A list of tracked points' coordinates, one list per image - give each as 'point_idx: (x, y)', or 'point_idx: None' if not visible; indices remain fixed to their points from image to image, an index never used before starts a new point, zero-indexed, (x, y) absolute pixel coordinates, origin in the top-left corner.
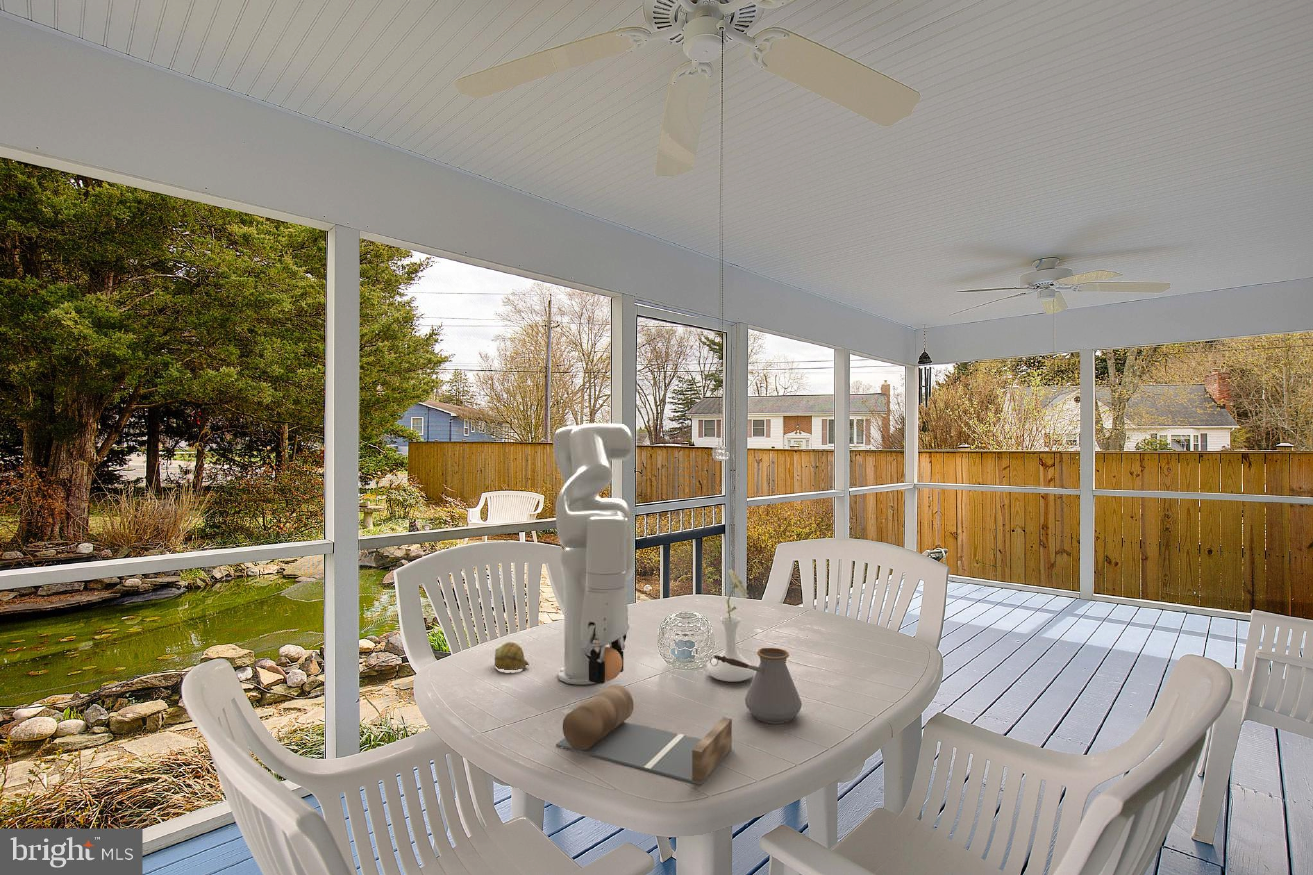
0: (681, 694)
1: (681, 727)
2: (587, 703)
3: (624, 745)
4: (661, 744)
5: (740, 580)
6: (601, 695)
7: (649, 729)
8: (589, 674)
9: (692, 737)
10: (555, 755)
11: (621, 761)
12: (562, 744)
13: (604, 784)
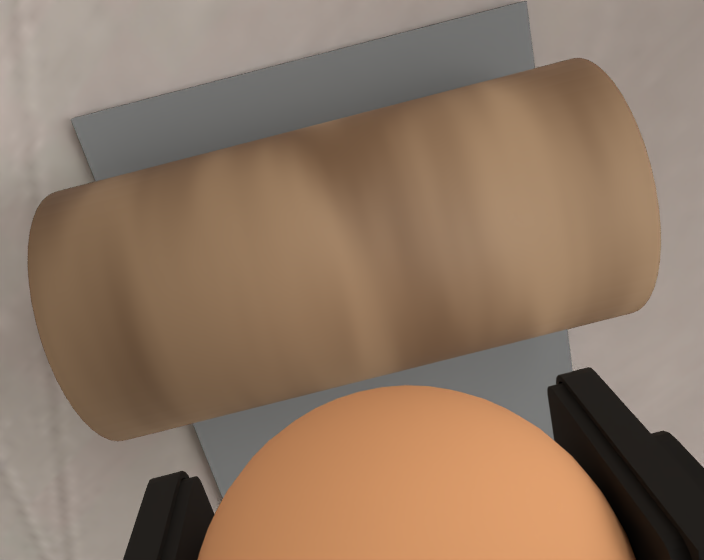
0: None
1: (668, 432)
2: (206, 317)
3: (335, 396)
4: None
5: None
6: (394, 287)
7: (549, 365)
8: (136, 536)
9: None
10: (14, 201)
11: (216, 482)
12: (99, 154)
13: (52, 536)
